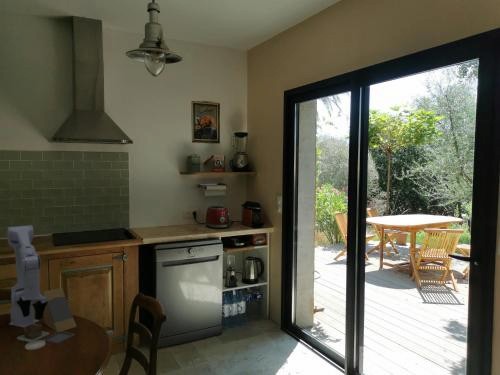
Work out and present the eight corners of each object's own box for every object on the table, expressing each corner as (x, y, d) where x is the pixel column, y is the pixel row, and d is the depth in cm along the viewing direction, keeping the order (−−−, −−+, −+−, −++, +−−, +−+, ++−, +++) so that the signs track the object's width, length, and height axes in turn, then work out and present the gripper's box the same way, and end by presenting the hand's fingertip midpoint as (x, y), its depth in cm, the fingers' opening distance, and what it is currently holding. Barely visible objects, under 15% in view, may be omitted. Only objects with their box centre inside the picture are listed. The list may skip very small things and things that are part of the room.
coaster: (20, 348, 150) (20, 346, 150) (37, 341, 156) (36, 338, 156) (33, 352, 147) (33, 349, 147) (49, 344, 153) (49, 341, 153)
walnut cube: (24, 337, 158) (24, 326, 158) (34, 333, 163) (34, 322, 162) (32, 339, 157) (32, 328, 156) (42, 335, 161) (41, 324, 161)
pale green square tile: (16, 340, 157) (16, 337, 157) (35, 331, 165) (35, 329, 165) (31, 343, 154) (31, 341, 154) (49, 335, 162) (49, 332, 162)
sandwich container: (57, 334, 163) (56, 299, 162) (43, 324, 173) (42, 291, 173) (77, 327, 170) (76, 294, 169) (63, 318, 180) (62, 287, 179)
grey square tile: (42, 341, 156) (42, 339, 156) (60, 333, 164) (60, 330, 164) (58, 345, 153) (58, 342, 153) (75, 336, 161) (74, 334, 160)
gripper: (10, 285, 158) (11, 318, 158) (35, 290, 152) (36, 323, 153) (26, 281, 164) (27, 312, 165) (50, 284, 159) (51, 317, 159)
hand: (32, 317), depth 159 cm, fingers open, 7 cm apart
